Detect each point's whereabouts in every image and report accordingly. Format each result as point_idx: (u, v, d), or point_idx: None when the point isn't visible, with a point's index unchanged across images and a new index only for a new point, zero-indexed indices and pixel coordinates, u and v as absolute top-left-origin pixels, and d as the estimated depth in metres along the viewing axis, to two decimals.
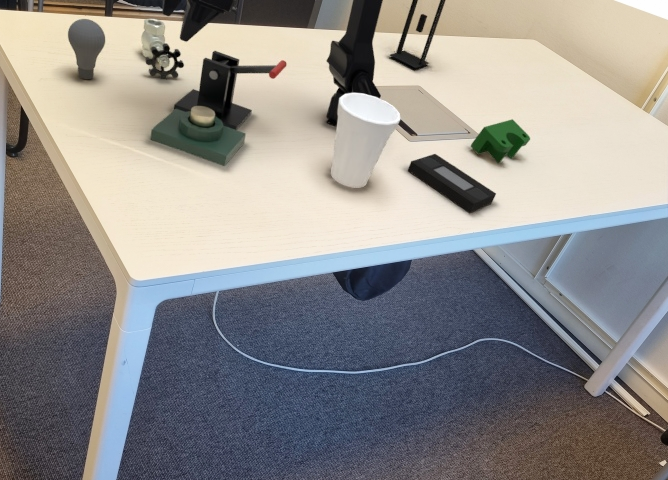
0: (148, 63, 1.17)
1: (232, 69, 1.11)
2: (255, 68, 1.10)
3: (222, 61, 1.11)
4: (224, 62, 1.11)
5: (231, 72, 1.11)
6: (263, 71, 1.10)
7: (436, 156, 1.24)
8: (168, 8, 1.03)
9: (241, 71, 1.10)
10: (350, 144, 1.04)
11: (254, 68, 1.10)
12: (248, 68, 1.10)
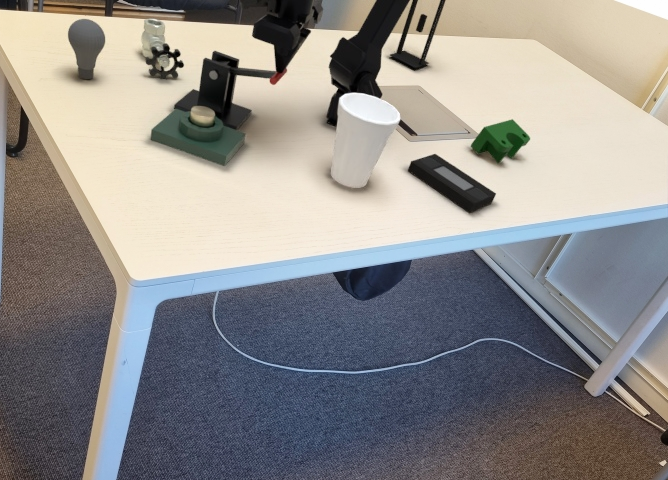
0: (148, 63, 1.17)
1: (232, 70, 1.11)
2: (256, 72, 1.10)
3: (223, 61, 1.11)
4: (225, 63, 1.11)
5: (231, 73, 1.11)
6: (263, 76, 1.10)
7: (436, 156, 1.24)
8: None
9: (241, 73, 1.11)
10: (350, 144, 1.04)
11: (255, 72, 1.10)
12: (249, 71, 1.10)
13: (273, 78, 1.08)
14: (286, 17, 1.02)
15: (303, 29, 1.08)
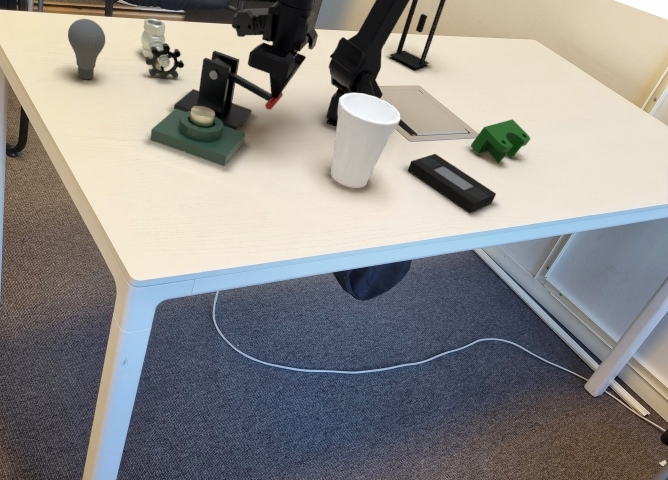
0: (148, 63, 1.17)
1: (232, 77, 1.11)
2: (254, 88, 1.12)
3: (226, 63, 1.11)
4: None
5: (230, 78, 1.12)
6: (260, 95, 1.12)
7: (436, 156, 1.24)
8: None
9: (240, 83, 1.12)
10: (350, 144, 1.04)
11: (253, 88, 1.12)
12: (247, 84, 1.12)
13: (270, 104, 1.10)
14: (281, 45, 1.04)
15: (298, 55, 1.10)
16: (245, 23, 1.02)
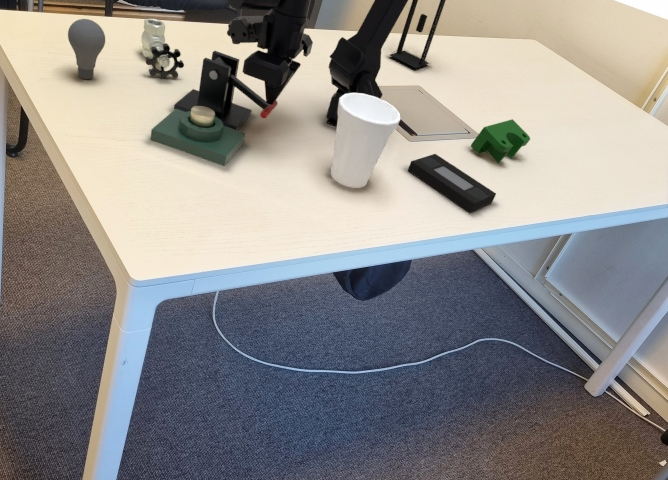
0: (148, 63, 1.17)
1: (231, 79, 1.12)
2: (251, 94, 1.12)
3: None
4: None
5: None
6: (256, 101, 1.13)
7: (436, 156, 1.24)
8: None
9: (238, 87, 1.12)
10: (350, 144, 1.04)
11: (250, 93, 1.12)
12: (245, 89, 1.12)
13: (265, 113, 1.11)
14: (276, 53, 1.05)
15: (293, 62, 1.11)
16: (240, 31, 1.03)
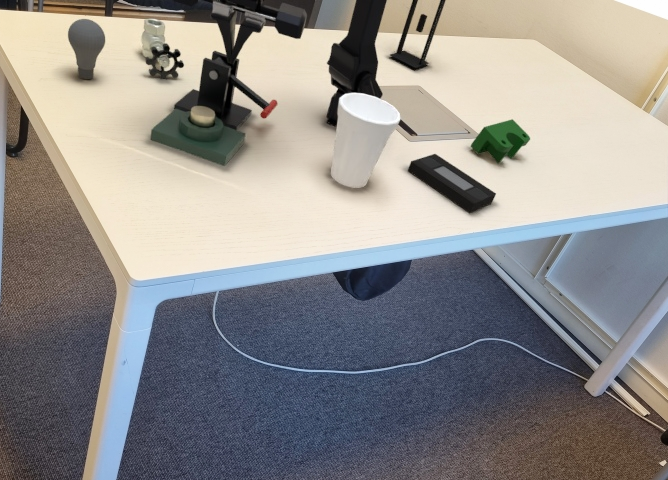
0: (148, 63, 1.17)
1: (231, 79, 1.12)
2: (251, 94, 1.12)
3: None
4: None
5: None
6: (256, 101, 1.13)
7: (436, 156, 1.24)
8: None
9: (238, 87, 1.12)
10: (350, 144, 1.04)
11: (250, 93, 1.12)
12: (245, 89, 1.12)
13: (265, 113, 1.11)
14: None
15: (254, 25, 0.97)
16: None
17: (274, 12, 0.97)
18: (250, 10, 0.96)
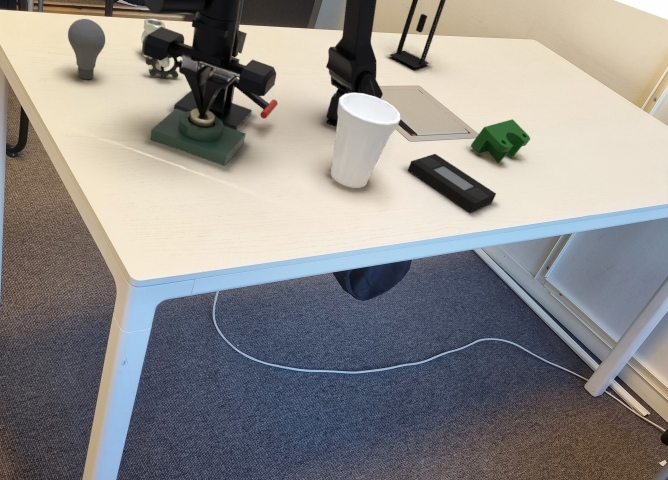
0: (148, 63, 1.17)
1: None
2: (251, 94, 1.12)
3: None
4: None
5: None
6: (256, 101, 1.13)
7: (436, 156, 1.24)
8: None
9: (238, 87, 1.12)
10: (350, 144, 1.04)
11: (250, 93, 1.12)
12: None
13: (265, 113, 1.11)
14: None
15: (221, 81, 0.99)
16: None
17: (241, 69, 0.98)
18: (217, 66, 0.98)
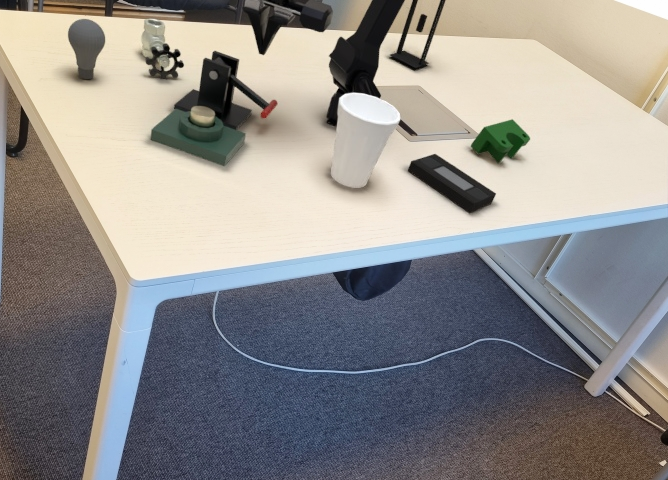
0: (148, 63, 1.17)
1: (231, 79, 1.12)
2: (251, 94, 1.12)
3: None
4: None
5: None
6: (256, 101, 1.13)
7: (436, 156, 1.24)
8: None
9: (238, 87, 1.12)
10: (350, 144, 1.04)
11: (250, 93, 1.12)
12: (245, 89, 1.12)
13: (265, 113, 1.11)
14: None
15: (282, 19, 1.04)
16: None
17: (301, 7, 1.04)
18: (278, 5, 1.03)
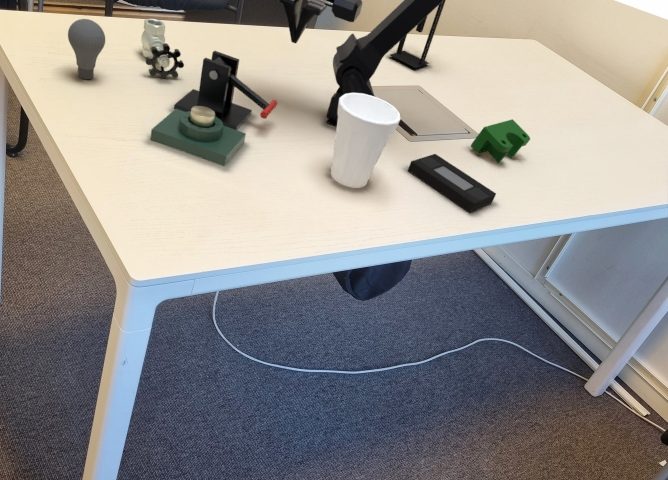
0: (148, 63, 1.17)
1: (231, 79, 1.12)
2: (251, 94, 1.12)
3: None
4: None
5: None
6: (256, 101, 1.13)
7: (436, 156, 1.24)
8: None
9: (238, 87, 1.12)
10: (350, 144, 1.04)
11: (250, 93, 1.12)
12: (245, 89, 1.12)
13: (265, 113, 1.11)
14: None
15: (315, 9, 1.11)
16: None
17: None
18: None
